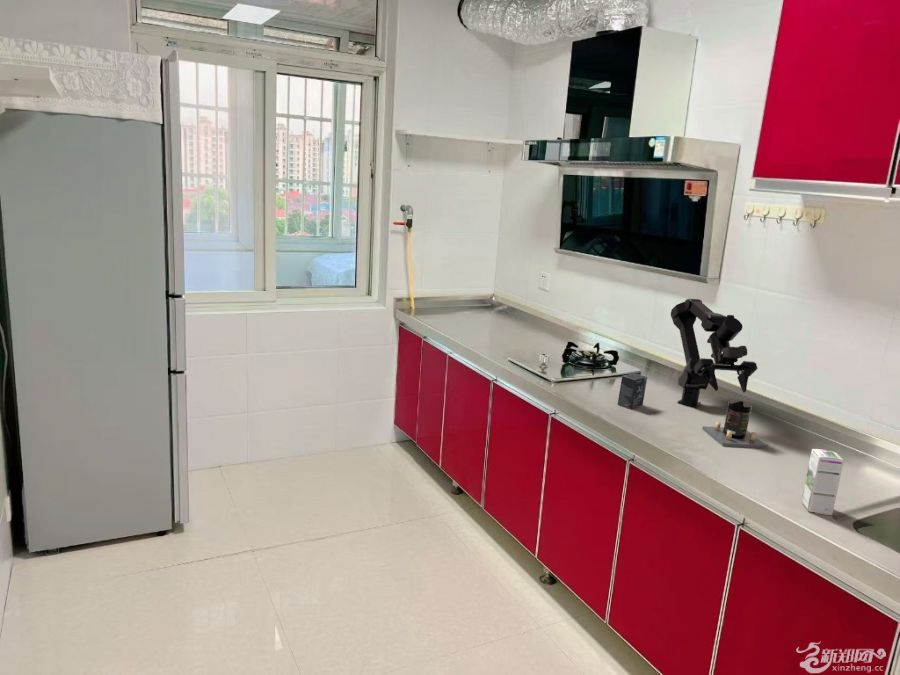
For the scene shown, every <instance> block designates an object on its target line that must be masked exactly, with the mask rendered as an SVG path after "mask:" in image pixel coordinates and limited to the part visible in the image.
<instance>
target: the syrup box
mask: <svg viewBox="0 0 900 675" xmlns="http://www.w3.org/2000/svg"><path fill="white" fill-rule="evenodd" d="M809 457H810V458H809V463H808V467H807V472H806V478H805V482H804V486H803V490H802V492H803V493H802V495H801V496H802V497H801V504H802V503H803V504H802V505H803V506H804V508H805V509H806V511H807V510H808V511H809V512H808V511H807V512H808V513H812V512H815V513H814V514H818V513H820V514H819V515H826V516H833V512H834V509H835V504H836V500H837V494H838V489H839V486H840V485H839V484H840V480H841V476H842V470H843V466H844V459H843V458H842V456H840V455H839V454H838V453H837V452H836V451H834V450H829V449H821V448H811V452H810V456H809Z"/></svg>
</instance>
